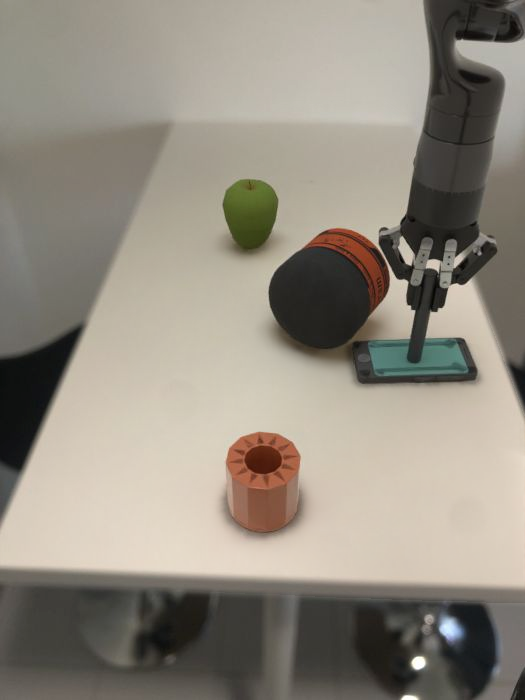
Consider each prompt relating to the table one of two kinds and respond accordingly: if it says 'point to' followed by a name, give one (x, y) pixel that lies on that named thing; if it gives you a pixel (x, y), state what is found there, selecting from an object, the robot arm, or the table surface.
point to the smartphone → (392, 365)
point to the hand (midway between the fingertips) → (424, 306)
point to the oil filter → (329, 288)
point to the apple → (250, 212)
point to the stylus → (422, 315)
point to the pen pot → (263, 481)
